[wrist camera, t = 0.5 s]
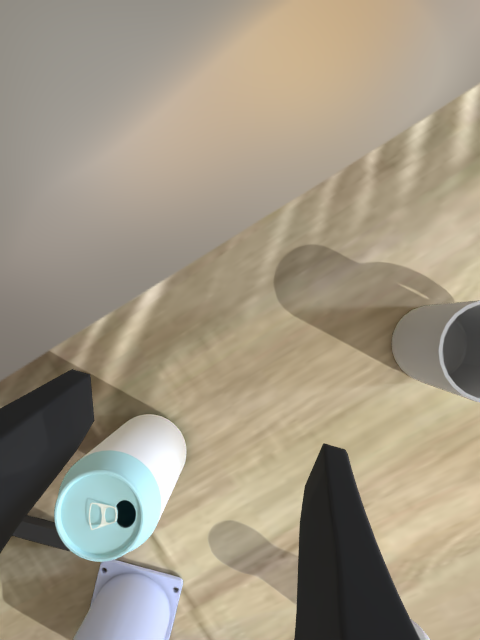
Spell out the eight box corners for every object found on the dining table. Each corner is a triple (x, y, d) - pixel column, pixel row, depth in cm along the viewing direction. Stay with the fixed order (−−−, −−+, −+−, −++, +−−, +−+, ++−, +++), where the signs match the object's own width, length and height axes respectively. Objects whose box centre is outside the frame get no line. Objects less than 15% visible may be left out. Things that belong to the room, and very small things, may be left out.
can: (157, 397, 35) (108, 438, 23) (202, 456, 35) (176, 528, 23) (100, 442, 35) (21, 505, 23) (144, 500, 35) (88, 595, 23)
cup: (375, 328, 34) (419, 330, 25) (470, 277, 34) (549, 261, 25) (412, 395, 34) (470, 422, 25) (508, 345, 34) (601, 353, 25)
